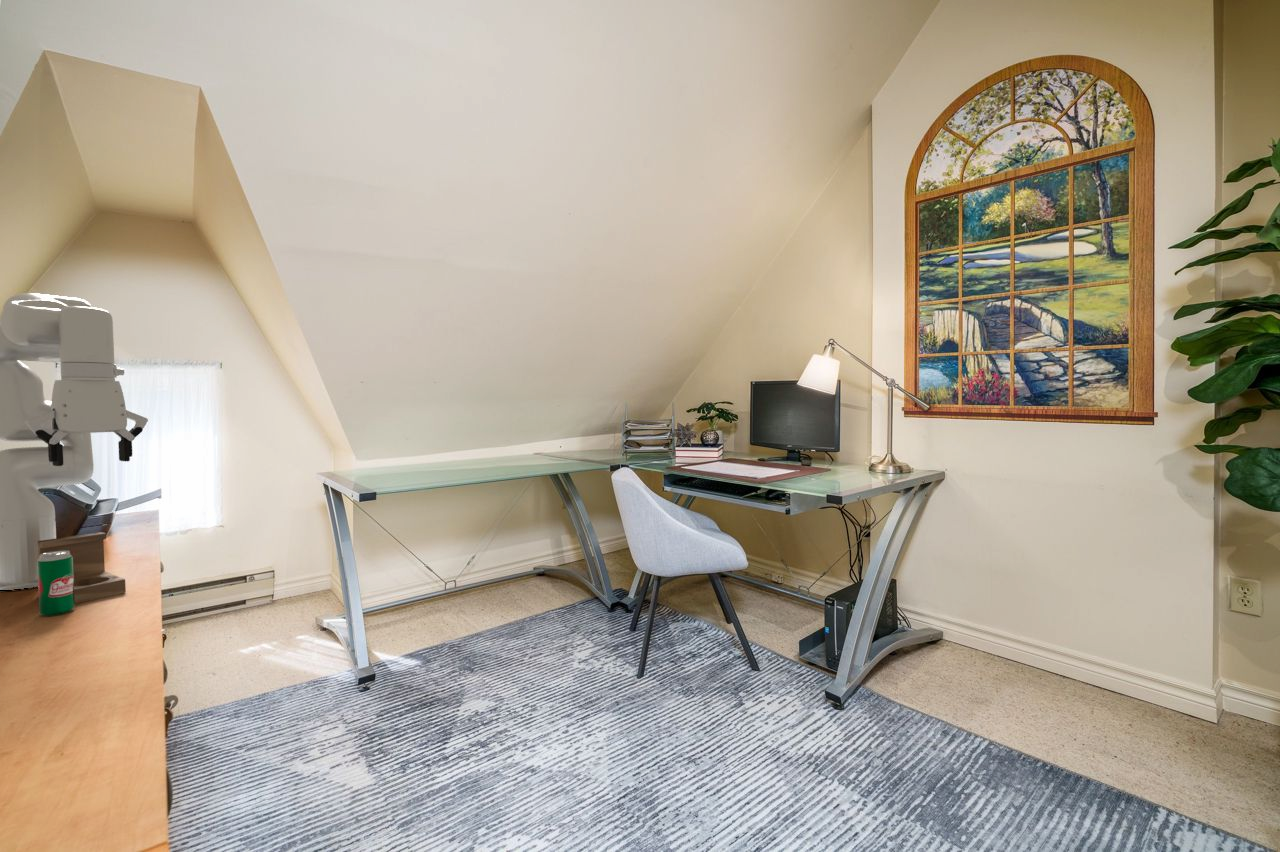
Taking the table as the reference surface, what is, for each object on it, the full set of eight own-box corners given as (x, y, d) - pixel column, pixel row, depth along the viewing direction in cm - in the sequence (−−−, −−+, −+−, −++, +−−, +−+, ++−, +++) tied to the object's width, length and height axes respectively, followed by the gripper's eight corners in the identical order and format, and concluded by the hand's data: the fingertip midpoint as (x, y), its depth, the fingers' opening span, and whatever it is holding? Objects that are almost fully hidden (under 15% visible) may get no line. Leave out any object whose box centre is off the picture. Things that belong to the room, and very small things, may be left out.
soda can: (52, 618, 115) (49, 557, 114) (32, 616, 116) (29, 555, 115) (81, 609, 120) (79, 550, 119) (62, 607, 121) (59, 549, 120)
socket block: (40, 595, 128) (37, 541, 128) (102, 583, 137) (100, 531, 137) (61, 606, 121) (58, 548, 121) (125, 592, 130) (123, 538, 130)
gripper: (137, 375, 121) (140, 458, 122) (17, 372, 106) (22, 466, 107) (152, 374, 117) (156, 460, 118) (30, 370, 103) (35, 468, 103)
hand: (92, 463), depth 112 cm, fingers open, 9 cm apart
